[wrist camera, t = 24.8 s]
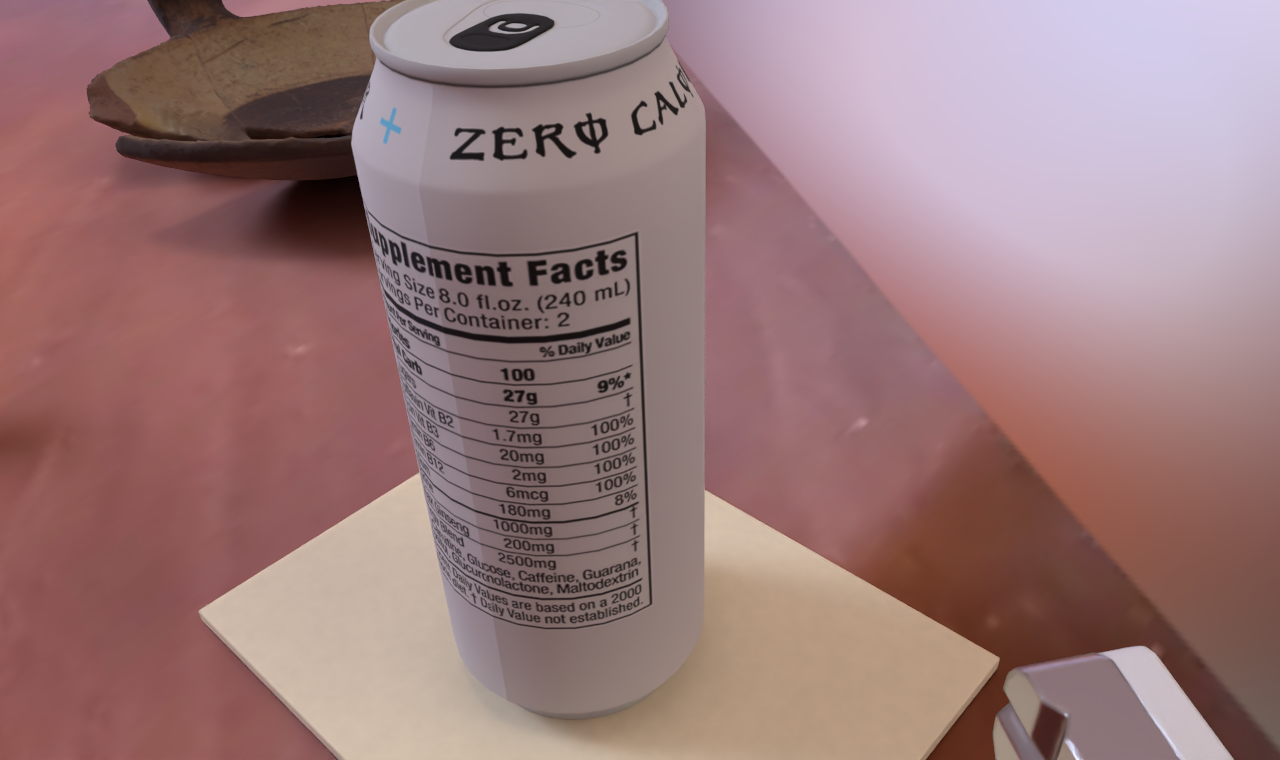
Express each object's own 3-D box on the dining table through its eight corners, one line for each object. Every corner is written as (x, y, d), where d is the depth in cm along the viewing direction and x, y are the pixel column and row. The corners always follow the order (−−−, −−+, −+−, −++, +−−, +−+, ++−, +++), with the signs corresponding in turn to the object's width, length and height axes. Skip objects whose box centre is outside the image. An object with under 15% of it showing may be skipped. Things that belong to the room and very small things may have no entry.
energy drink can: (744, 595, 27) (766, -13, 18) (627, 784, 22) (580, 111, 14) (546, 520, 29) (478, -46, 20) (407, 677, 25) (246, 50, 16)
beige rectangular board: (997, 668, 25) (1000, 657, 25) (664, 1093, 18) (664, 1083, 18) (541, 405, 34) (540, 395, 34) (202, 621, 27) (197, 610, 27)
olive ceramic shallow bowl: (163, 330, 38) (92, 132, 34) (80, 86, 60) (30, -55, 55) (685, 185, 47) (684, 11, 42) (448, 17, 68) (430, -111, 64)
